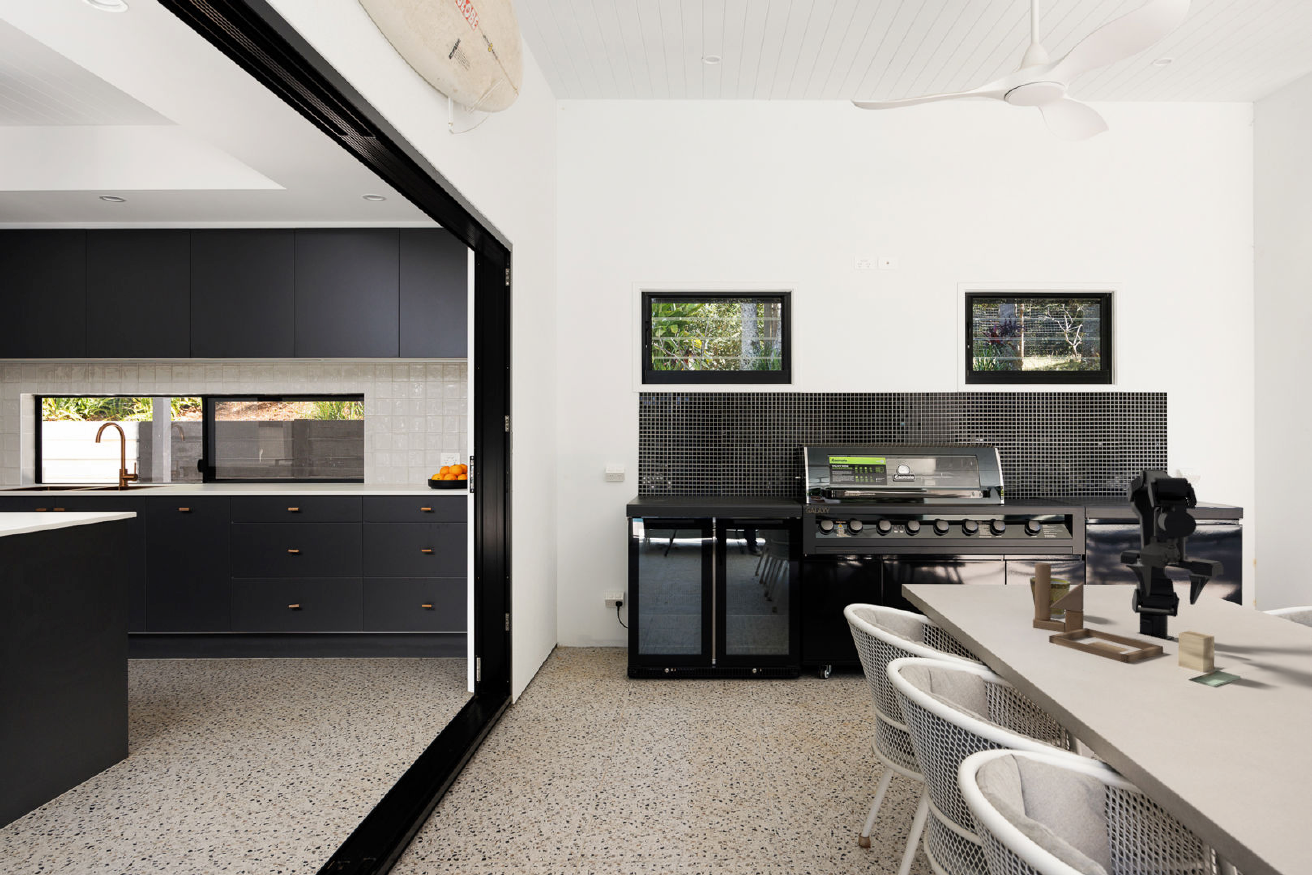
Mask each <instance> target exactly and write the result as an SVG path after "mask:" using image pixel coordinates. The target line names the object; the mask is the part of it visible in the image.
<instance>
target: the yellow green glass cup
mask: <svg viewBox="0 0 1312 875" xmlns="http://www.w3.org/2000/svg"><path fill="white" fill-rule="evenodd" d="M1029 585H1030V591H1031V595H1032V599H1033V603H1034V604H1033V605H1034V607H1035V576H1031V577H1029ZM1070 587H1071V580H1067V579H1066V578H1060V577H1053V576H1051V605H1052V604H1053V603H1055V602H1056V601H1057V600H1059V599H1060V598H1061V597H1063V596H1064V595H1065V594H1067V593H1068V592H1069V591H1070ZM1065 611H1066V610H1062V609H1055V608H1051V619H1061V618H1063V617H1065Z"/></svg>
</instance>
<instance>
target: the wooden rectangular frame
mask: <svg viewBox="0 0 1312 875" xmlns="http://www.w3.org/2000/svg"><path fill="white" fill-rule="evenodd" d="M1084 637H1091V638H1095V639H1100V640H1103V641H1107V642H1111V643H1115V644H1119V645H1124V646H1127V647H1131V648H1134V649H1135V648H1136V649H1138V650H1134V651H1131V652H1126V651H1130V649H1129V648H1124V647H1121V646H1117V645H1112V644H1108V643H1104V642H1102V641H1095V642H1090V643H1082V642H1078V641H1075V640H1076V639H1079V638H1080V639H1081V638H1084ZM1048 643H1049V644H1053V645H1054V644H1055V645H1057V646H1061V647H1065V648H1068V649H1072V650H1076V651H1080V652H1084V653H1088V654H1090V655H1094V656H1099V657H1101V658H1106V659H1109V660H1113V661H1117V662H1120V663H1124V664H1128V663H1131V662H1135V661H1140V660H1144V659H1147V658H1150V657H1154V656H1158V655H1163V654H1164V646H1163V645H1157V644H1154V643H1149V642H1146V641H1143V640H1142V641H1141V640H1139V639H1138V640H1137V639H1134V638H1129V637H1125V636H1120V635H1116V634H1113V633H1109V632H1104V631H1100V630H1095V629H1092V628H1088V627H1085V628H1084V627H1083V629H1080V630H1075V631H1070V632H1065V633H1063V632H1060V633H1055V634H1052V635H1049V636H1048ZM1123 652H1126V653H1123Z"/></svg>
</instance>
